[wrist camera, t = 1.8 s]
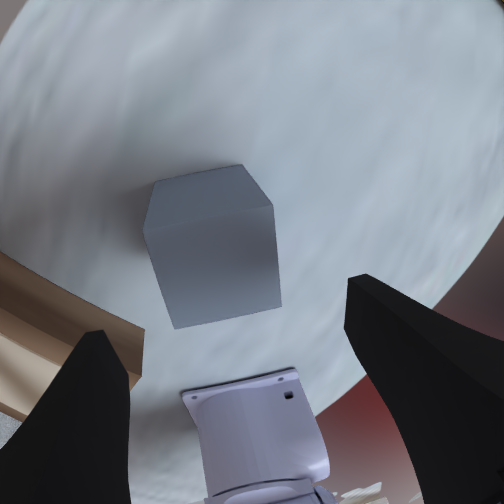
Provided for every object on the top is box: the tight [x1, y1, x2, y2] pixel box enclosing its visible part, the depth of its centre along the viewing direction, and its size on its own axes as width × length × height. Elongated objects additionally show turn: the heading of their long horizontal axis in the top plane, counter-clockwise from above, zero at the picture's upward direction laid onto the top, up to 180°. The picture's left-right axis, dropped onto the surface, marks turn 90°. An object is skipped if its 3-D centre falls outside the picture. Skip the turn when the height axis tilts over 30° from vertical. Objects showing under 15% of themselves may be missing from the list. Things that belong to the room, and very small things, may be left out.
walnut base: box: [0, 252, 145, 422], centre depth 17 cm, size 12×12×4 cm
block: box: [142, 165, 282, 329], centre depth 14 cm, size 4×4×6 cm
